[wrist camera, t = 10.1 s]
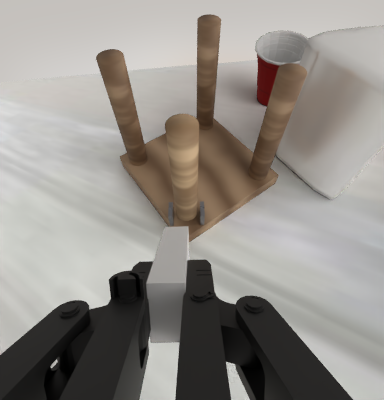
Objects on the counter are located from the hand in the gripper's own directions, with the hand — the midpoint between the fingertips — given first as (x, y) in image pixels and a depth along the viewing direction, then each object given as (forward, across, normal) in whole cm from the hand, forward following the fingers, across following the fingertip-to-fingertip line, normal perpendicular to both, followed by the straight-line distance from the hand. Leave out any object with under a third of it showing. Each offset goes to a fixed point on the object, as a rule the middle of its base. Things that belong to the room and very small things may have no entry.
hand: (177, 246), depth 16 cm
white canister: (+35, +26, +2) cm, 43 cm away
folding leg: (+21, 0, -4) cm, 21 cm away
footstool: (+32, +2, 0) cm, 32 cm away
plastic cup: (+47, +19, +15) cm, 53 cm away
